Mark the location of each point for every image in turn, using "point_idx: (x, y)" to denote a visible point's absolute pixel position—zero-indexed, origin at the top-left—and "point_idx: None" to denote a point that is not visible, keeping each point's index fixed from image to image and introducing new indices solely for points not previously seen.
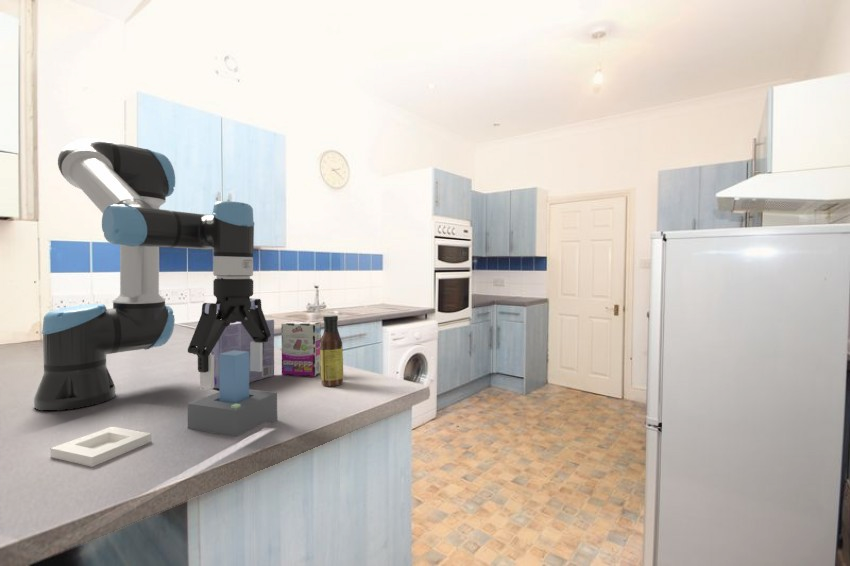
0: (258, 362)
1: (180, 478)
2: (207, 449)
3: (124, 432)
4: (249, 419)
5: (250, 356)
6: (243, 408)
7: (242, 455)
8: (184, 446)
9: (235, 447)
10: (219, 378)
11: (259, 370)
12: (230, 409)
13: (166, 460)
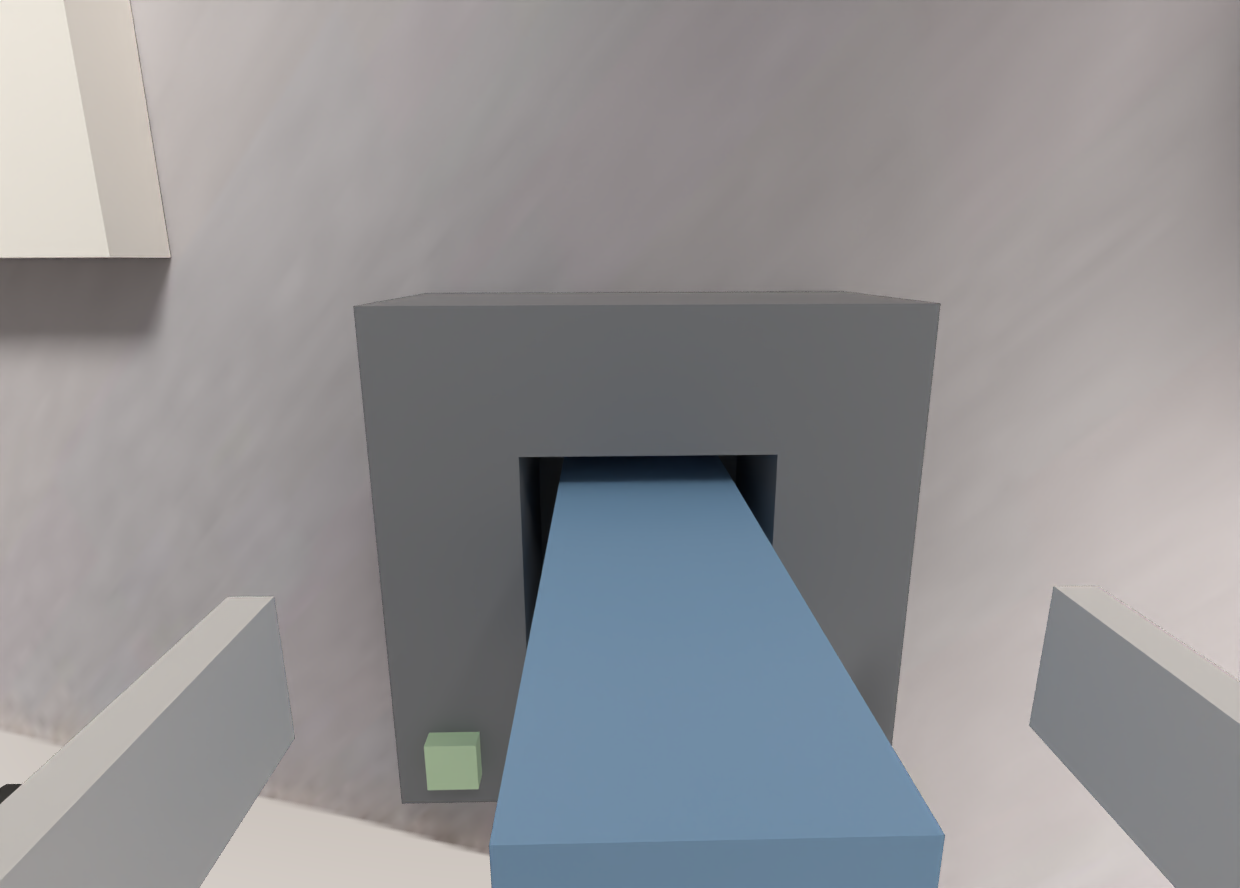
0: (1116, 793)
1: (38, 721)
2: (309, 599)
3: (11, 31)
4: None
5: (1216, 715)
6: (480, 796)
7: (339, 802)
8: (276, 448)
9: None
10: (540, 585)
11: (1041, 728)
12: (403, 751)
13: (111, 507)
